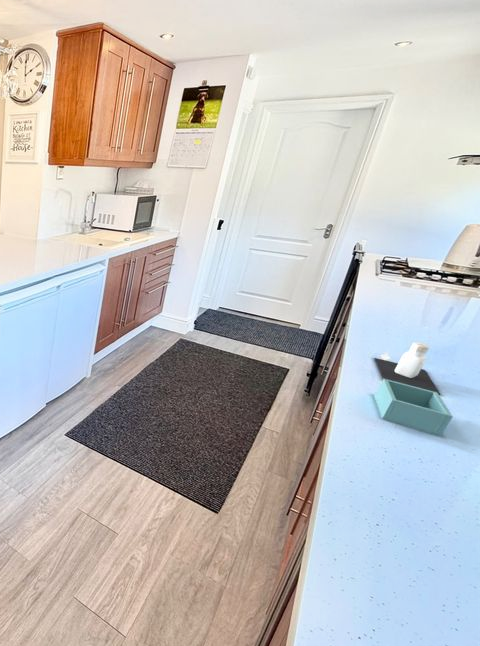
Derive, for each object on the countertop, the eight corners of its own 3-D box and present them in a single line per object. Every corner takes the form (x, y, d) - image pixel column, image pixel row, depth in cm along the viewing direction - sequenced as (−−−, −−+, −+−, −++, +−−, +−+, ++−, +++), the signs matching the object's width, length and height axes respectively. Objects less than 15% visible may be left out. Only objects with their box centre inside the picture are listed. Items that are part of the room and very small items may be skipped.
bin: (426, 410, 98) (437, 392, 96) (440, 436, 89) (453, 416, 87) (374, 396, 103) (383, 378, 101) (381, 418, 94) (392, 399, 92)
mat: (424, 371, 118) (425, 369, 118) (439, 395, 105) (440, 394, 105) (374, 358, 124) (374, 357, 124) (383, 380, 111) (383, 379, 111)
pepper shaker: (417, 376, 114) (434, 346, 110) (411, 379, 112) (428, 349, 108) (398, 369, 117) (414, 340, 113) (392, 372, 115) (408, 342, 111)
